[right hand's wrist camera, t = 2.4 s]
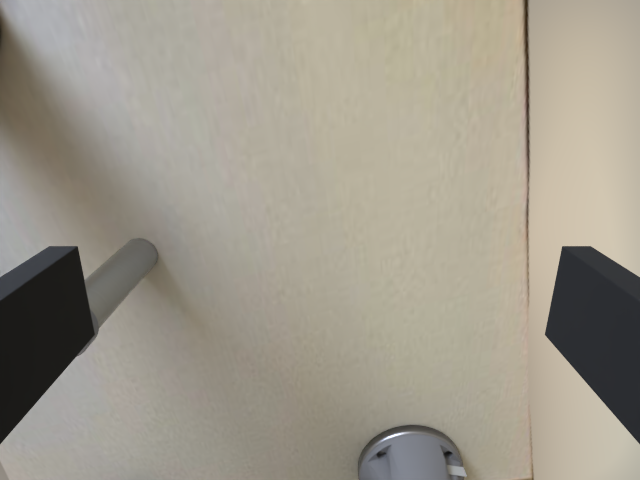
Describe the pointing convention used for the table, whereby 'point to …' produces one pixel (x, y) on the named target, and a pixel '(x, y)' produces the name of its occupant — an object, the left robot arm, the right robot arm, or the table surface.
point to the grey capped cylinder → (119, 277)
